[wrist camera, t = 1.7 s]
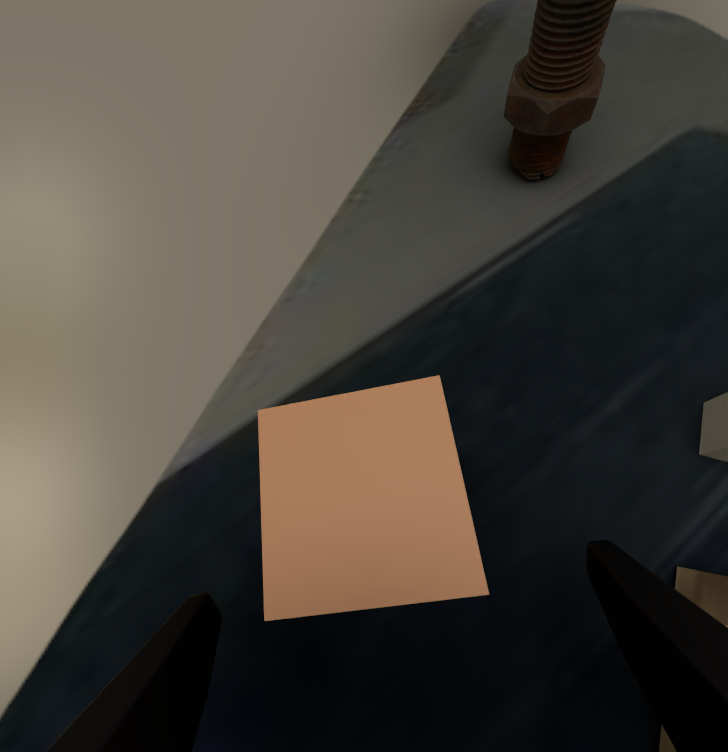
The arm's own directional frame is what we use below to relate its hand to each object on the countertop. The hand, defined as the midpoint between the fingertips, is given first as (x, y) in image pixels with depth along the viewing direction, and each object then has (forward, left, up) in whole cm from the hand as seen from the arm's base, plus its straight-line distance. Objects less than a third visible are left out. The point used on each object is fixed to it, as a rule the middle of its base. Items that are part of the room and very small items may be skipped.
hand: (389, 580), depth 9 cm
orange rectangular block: (+1, +2, -10) cm, 10 cm away
